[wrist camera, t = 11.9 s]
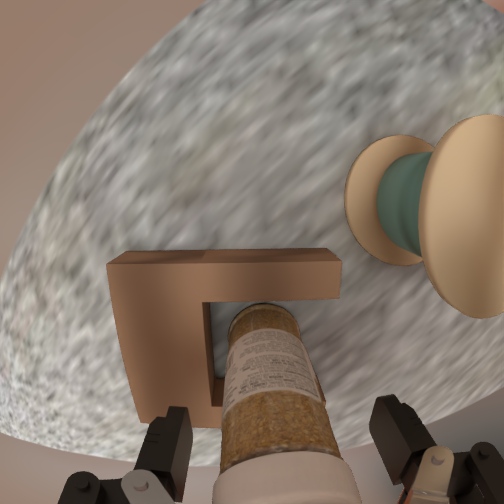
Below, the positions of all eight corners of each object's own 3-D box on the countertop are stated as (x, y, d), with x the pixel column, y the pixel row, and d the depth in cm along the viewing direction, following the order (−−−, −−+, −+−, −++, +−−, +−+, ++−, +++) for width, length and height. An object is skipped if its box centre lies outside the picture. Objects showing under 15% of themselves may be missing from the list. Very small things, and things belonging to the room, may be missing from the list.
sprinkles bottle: (282, 370, 20) (317, 554, 6) (217, 351, 19) (193, 545, 6) (310, 313, 19) (396, 497, 6) (242, 290, 18) (241, 493, 5)
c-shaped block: (326, 248, 18) (341, 261, 15) (313, 396, 20) (322, 423, 17) (126, 251, 17) (106, 264, 15) (150, 396, 20) (140, 422, 17)
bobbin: (449, 145, 16) (549, 138, 8) (444, 260, 18) (535, 306, 9) (343, 130, 16) (427, 92, 7) (341, 264, 18) (415, 331, 9)
